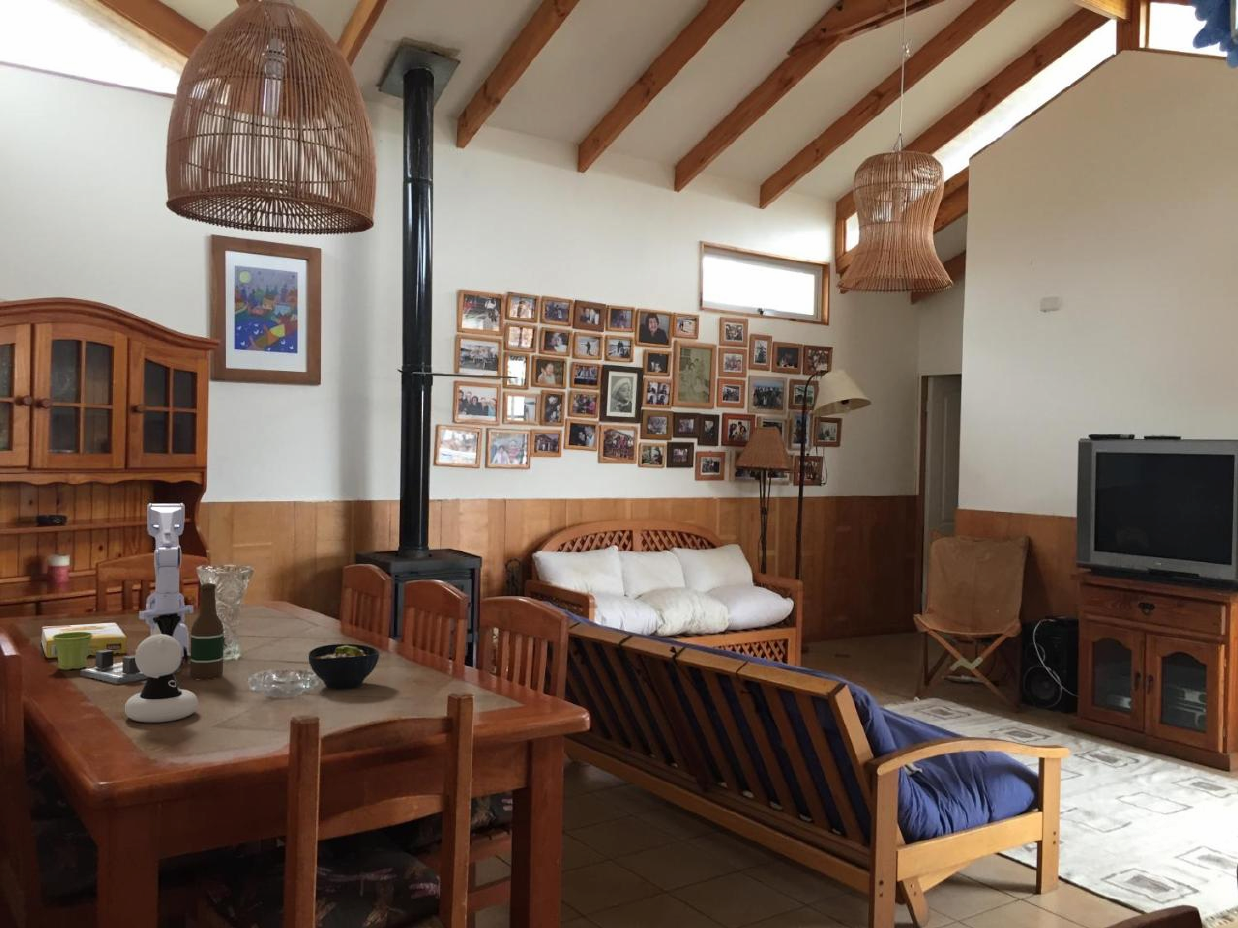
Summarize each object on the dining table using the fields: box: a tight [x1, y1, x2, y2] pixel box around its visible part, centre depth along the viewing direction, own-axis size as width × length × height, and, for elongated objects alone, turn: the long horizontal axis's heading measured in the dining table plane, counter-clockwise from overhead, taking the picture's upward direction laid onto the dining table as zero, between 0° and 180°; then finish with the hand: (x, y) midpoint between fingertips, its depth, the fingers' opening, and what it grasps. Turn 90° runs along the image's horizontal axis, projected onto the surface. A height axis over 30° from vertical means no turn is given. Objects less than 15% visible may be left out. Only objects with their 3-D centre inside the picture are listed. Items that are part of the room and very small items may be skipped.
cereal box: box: [40, 622, 128, 659], centre depth 289 cm, size 20×6×28 cm
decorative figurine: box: [124, 623, 199, 724], centre depth 217 cm, size 15×15×20 cm
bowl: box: [308, 643, 380, 691], centre depth 248 cm, size 17×17×10 cm
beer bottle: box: [189, 582, 225, 681], centre depth 255 cm, size 8×8×24 cm
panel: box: [80, 649, 180, 685], centre depth 257 cm, size 17×16×6 cm
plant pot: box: [52, 632, 93, 671], centre depth 263 cm, size 9×9×9 cm
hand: (166, 642), depth 265 cm, fingers closed
